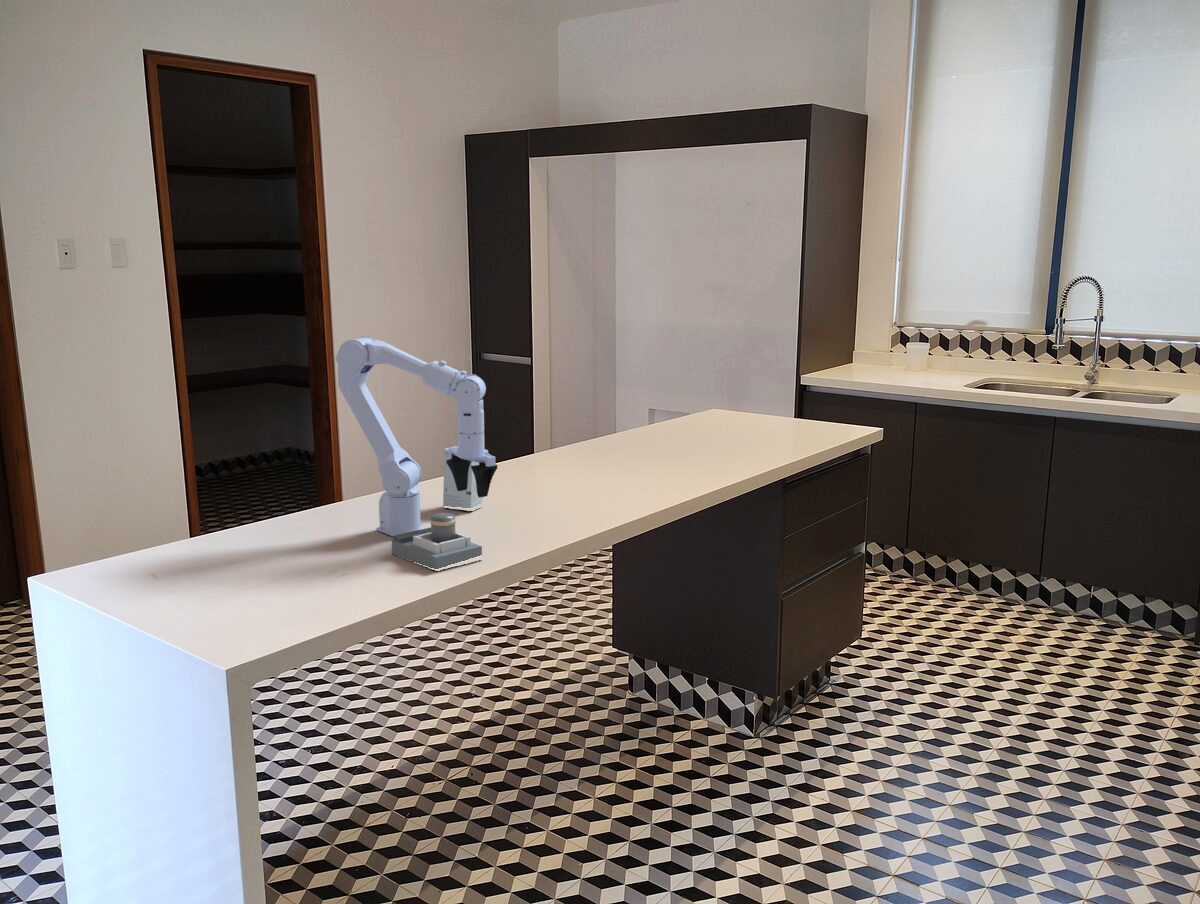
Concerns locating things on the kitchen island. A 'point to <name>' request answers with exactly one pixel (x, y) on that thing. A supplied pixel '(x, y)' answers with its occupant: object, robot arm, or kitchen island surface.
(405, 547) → the camera body
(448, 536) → the lens
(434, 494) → the kitchen island surface
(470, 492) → the skincare box
